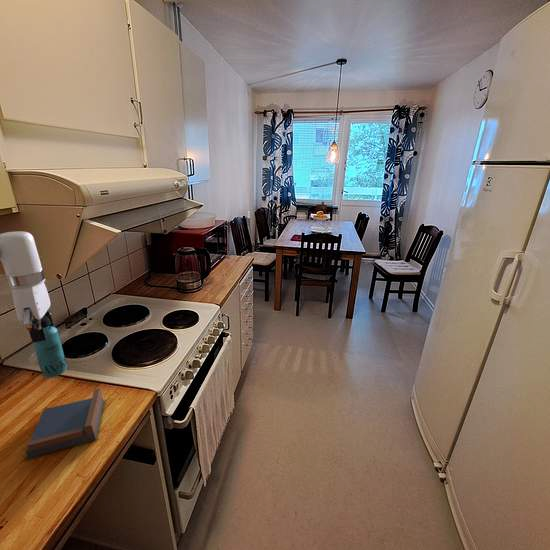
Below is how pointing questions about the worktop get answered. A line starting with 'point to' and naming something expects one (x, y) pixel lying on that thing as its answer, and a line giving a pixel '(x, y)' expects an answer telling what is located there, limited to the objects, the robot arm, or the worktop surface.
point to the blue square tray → (66, 425)
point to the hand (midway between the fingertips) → (44, 333)
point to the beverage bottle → (50, 351)
